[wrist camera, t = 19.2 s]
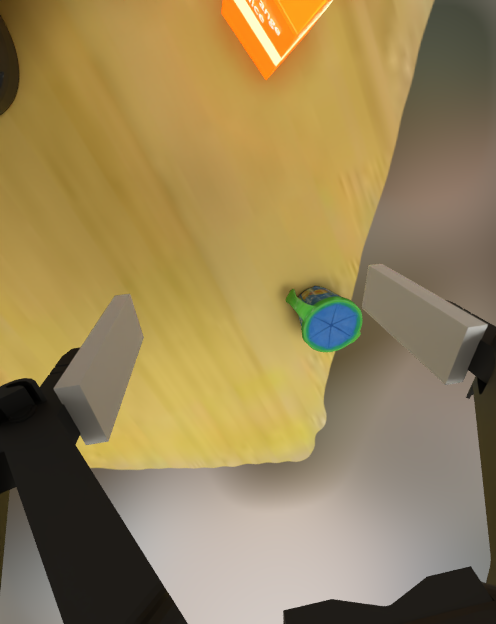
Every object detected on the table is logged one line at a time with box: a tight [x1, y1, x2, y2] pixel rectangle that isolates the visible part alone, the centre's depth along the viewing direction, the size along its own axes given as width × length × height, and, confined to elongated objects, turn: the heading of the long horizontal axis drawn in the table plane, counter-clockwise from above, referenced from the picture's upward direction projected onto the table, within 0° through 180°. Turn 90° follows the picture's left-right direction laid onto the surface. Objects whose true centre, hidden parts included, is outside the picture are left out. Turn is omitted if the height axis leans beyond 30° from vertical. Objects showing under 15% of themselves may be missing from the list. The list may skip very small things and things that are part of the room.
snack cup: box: [286, 286, 362, 352], centre depth 51 cm, size 16×10×10 cm
